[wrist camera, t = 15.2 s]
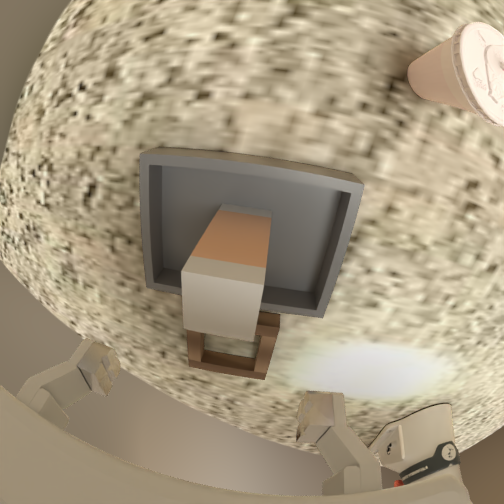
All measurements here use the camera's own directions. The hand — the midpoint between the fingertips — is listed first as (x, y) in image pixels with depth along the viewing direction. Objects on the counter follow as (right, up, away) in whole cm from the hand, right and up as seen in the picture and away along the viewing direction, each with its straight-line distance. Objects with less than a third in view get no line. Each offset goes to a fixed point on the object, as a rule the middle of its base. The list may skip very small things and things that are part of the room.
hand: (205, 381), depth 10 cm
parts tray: (+1, +8, +13) cm, 15 cm away
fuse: (+1, +7, +13) cm, 14 cm away
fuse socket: (0, -5, +20) cm, 21 cm away
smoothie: (+16, +19, +5) cm, 26 cm away
